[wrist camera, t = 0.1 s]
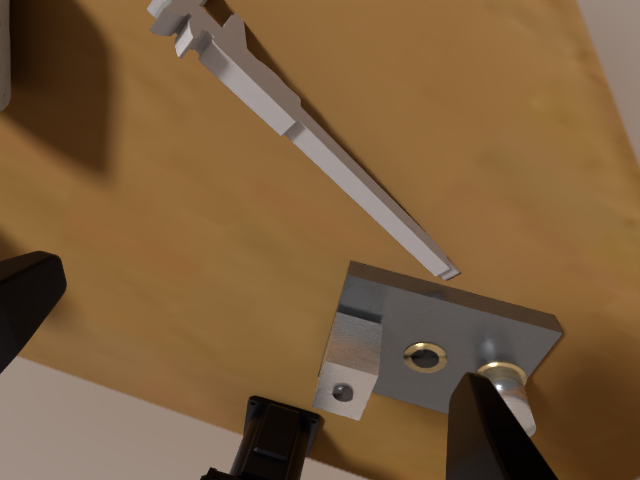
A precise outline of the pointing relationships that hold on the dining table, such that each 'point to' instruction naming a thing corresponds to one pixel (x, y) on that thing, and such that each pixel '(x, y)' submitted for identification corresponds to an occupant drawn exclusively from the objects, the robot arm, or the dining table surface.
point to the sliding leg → (349, 366)
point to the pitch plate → (446, 338)
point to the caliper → (288, 117)
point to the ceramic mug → (4, 55)
